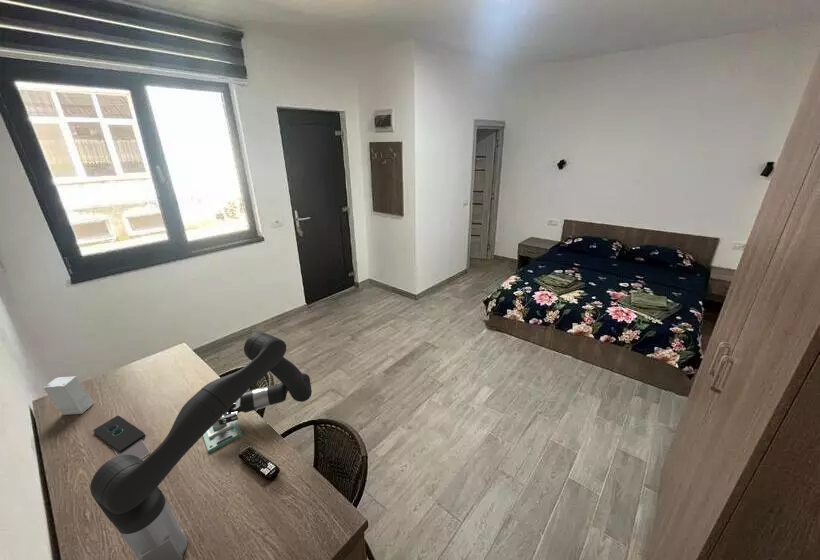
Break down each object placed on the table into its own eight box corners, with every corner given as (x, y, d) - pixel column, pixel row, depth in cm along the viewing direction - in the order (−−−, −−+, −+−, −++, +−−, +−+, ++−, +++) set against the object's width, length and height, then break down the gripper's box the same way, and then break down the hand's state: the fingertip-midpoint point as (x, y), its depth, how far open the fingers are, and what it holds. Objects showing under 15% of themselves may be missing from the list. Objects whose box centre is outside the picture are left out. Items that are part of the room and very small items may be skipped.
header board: (242, 434, 117) (241, 430, 116) (208, 453, 110) (206, 448, 110) (230, 406, 129) (228, 402, 129) (199, 421, 123) (197, 417, 122)
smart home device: (118, 414, 126) (145, 433, 117) (120, 417, 126) (147, 436, 118) (91, 430, 119) (118, 451, 111) (93, 433, 120) (120, 454, 111)
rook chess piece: (223, 418, 122) (217, 403, 119) (228, 424, 120) (223, 408, 116) (210, 426, 119) (204, 410, 116) (215, 432, 117) (209, 416, 113)
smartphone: (136, 431, 119) (150, 452, 111) (137, 433, 120) (151, 454, 111) (111, 445, 114) (124, 468, 106) (112, 447, 114) (125, 470, 106)
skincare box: (94, 403, 133) (78, 375, 127) (81, 414, 128) (64, 386, 122) (74, 404, 133) (57, 376, 127) (60, 415, 128) (41, 387, 122)
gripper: (255, 379, 125) (208, 390, 120) (252, 405, 113) (200, 418, 108) (259, 393, 128) (214, 405, 123) (257, 420, 116) (206, 434, 111)
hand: (207, 411), depth 116 cm, fingers open, 8 cm apart
